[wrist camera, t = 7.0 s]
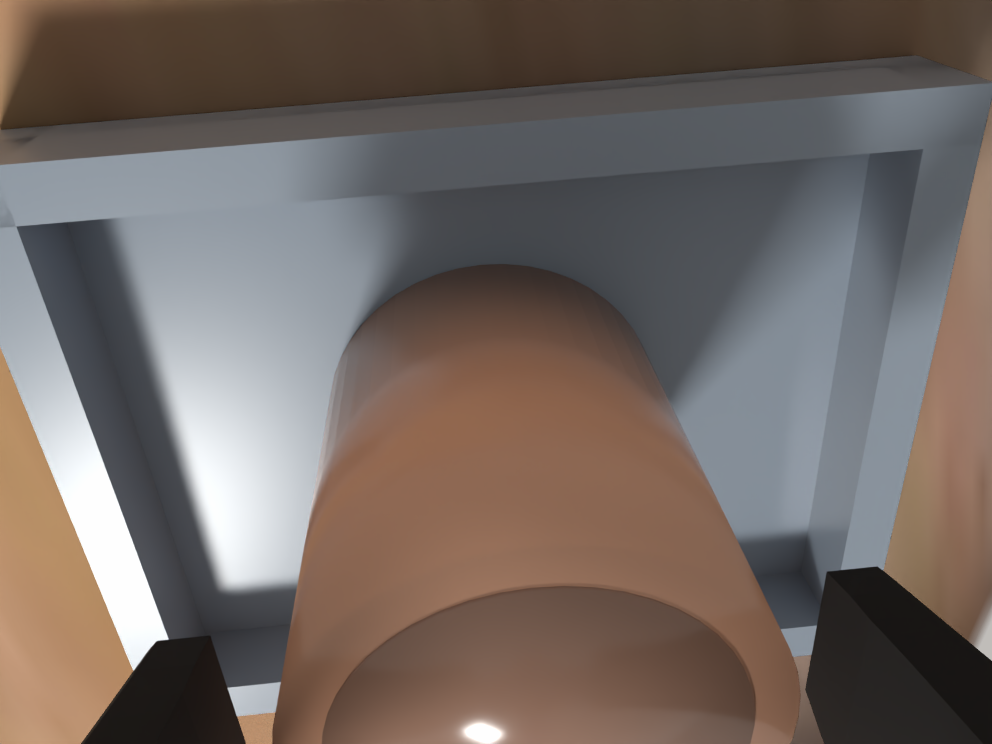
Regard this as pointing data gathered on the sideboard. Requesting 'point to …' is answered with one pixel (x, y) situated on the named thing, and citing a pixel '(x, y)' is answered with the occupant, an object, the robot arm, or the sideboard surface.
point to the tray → (470, 242)
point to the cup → (520, 540)
